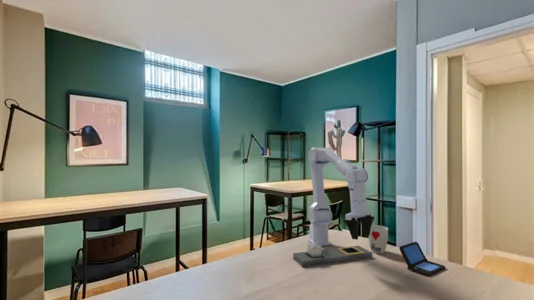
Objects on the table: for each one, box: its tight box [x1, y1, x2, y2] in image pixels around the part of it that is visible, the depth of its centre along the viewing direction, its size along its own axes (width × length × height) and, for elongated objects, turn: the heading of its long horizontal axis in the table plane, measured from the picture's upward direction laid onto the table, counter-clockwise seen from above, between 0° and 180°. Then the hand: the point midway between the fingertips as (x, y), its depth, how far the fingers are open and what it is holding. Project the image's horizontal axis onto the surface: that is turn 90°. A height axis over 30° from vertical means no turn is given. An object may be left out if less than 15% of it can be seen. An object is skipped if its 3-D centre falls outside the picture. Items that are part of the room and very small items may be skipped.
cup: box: [367, 224, 389, 254], centre depth 118 cm, size 8×8×10 cm
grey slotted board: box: [292, 245, 373, 268], centre depth 111 cm, size 9×30×2 cm, turn 107°
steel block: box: [306, 243, 322, 259], centre depth 109 cm, size 4×4×6 cm
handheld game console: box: [398, 241, 446, 277], centre depth 101 cm, size 12×11×7 cm
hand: (360, 237), depth 105 cm, fingers open, 7 cm apart
